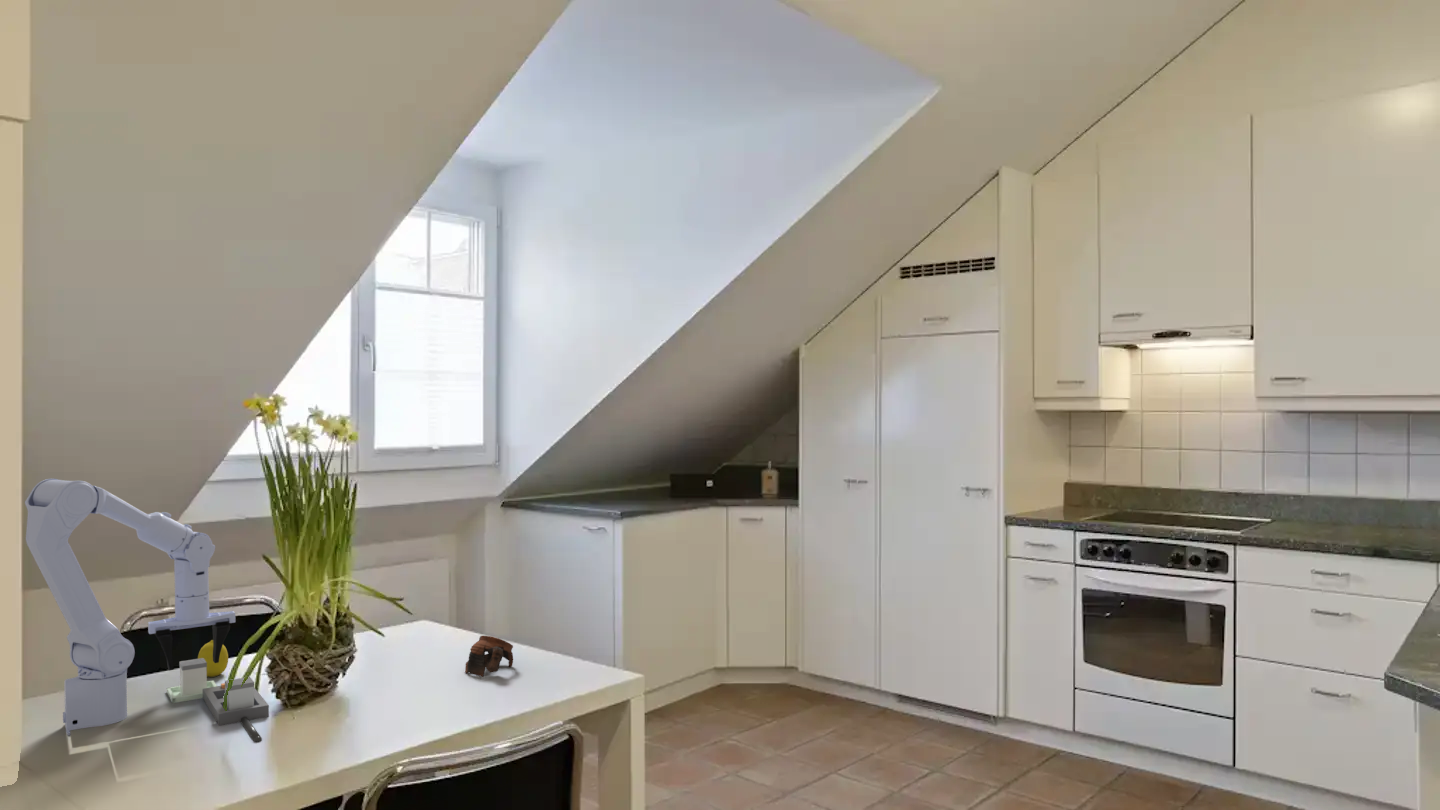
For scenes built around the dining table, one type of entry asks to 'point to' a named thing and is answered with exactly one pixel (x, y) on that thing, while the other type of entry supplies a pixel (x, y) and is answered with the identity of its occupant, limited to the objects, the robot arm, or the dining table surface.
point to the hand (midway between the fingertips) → (193, 665)
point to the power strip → (236, 710)
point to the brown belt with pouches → (488, 655)
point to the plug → (193, 676)
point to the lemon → (207, 654)
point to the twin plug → (240, 694)
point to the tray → (177, 697)
